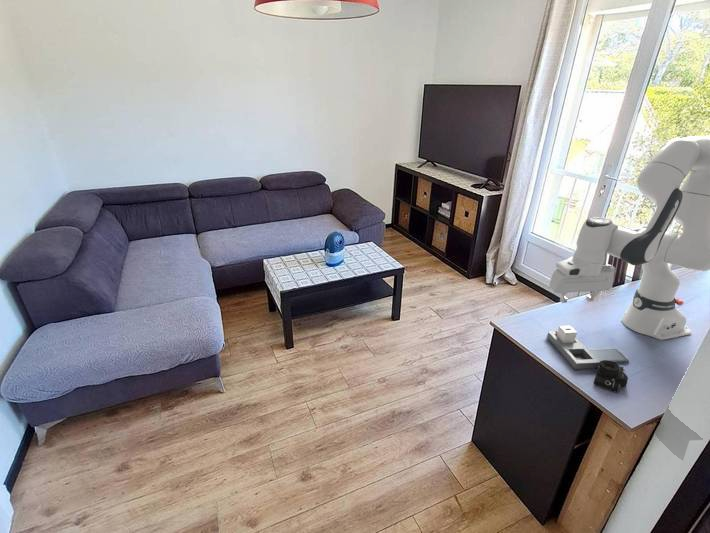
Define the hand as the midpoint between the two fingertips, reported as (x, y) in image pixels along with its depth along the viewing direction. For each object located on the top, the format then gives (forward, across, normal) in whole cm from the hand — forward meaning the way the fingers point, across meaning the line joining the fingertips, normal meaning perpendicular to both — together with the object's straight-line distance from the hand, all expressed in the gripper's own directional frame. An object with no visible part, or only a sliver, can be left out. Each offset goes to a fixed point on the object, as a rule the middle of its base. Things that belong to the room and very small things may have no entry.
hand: (576, 301), depth 127 cm
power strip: (+19, 0, +5) cm, 19 cm away
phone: (+19, -10, +8) cm, 23 cm away
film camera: (+19, -4, +18) cm, 27 cm away
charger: (+18, 0, 0) cm, 18 cm away
